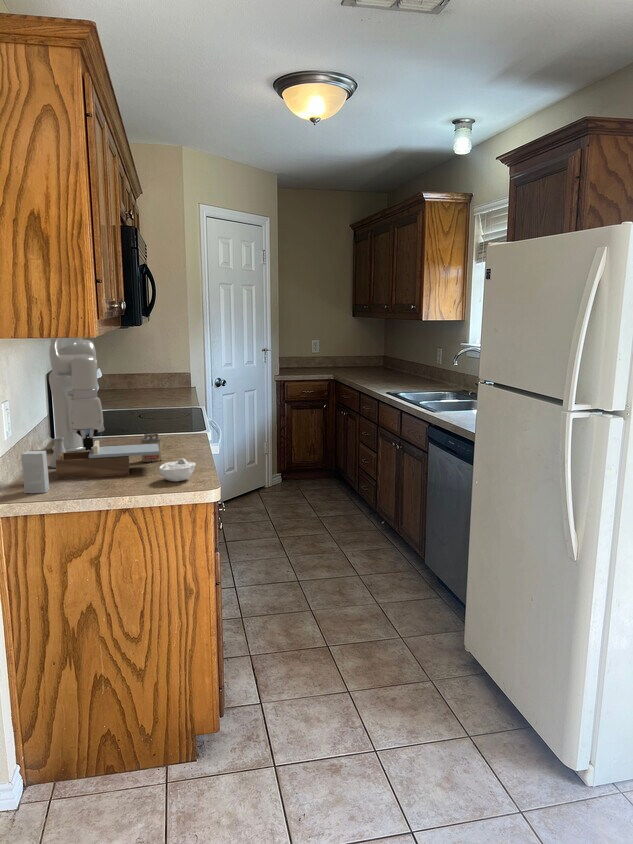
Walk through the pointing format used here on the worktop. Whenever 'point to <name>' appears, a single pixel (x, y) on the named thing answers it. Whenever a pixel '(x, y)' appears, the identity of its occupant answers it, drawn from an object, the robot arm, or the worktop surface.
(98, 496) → the worktop surface
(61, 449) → the flask
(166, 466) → the cell model
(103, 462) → the wooden box
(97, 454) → the lid
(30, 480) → the skincare box
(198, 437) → the worktop surface
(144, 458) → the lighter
